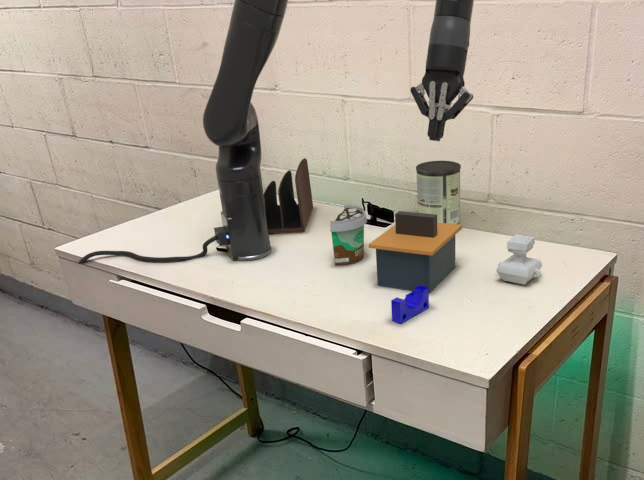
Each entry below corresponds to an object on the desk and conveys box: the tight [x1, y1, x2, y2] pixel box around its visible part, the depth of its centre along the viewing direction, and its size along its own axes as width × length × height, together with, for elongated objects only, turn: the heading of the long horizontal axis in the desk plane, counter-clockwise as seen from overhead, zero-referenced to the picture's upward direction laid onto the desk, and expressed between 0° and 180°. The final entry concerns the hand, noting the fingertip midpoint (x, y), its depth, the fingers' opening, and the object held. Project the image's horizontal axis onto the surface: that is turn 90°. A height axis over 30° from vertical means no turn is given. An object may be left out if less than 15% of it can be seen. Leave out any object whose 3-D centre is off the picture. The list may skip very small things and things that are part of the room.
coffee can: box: [415, 160, 462, 225], centre depth 163 cm, size 10×10×14 cm
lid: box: [368, 210, 463, 256], centre depth 134 cm, size 16×13×5 cm
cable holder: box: [390, 285, 430, 325], centre depth 123 cm, size 8×4×4 cm, turn 139°
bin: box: [375, 234, 456, 294], centre depth 137 cm, size 14×11×8 cm
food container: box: [329, 204, 368, 267], centre depth 147 cm, size 12×6×10 cm, turn 168°
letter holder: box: [263, 157, 314, 234], centre depth 171 cm, size 10×20×14 cm, turn 179°
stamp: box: [496, 234, 543, 286], centre depth 133 cm, size 9×7×8 cm
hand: (434, 140), depth 137 cm, fingers closed
